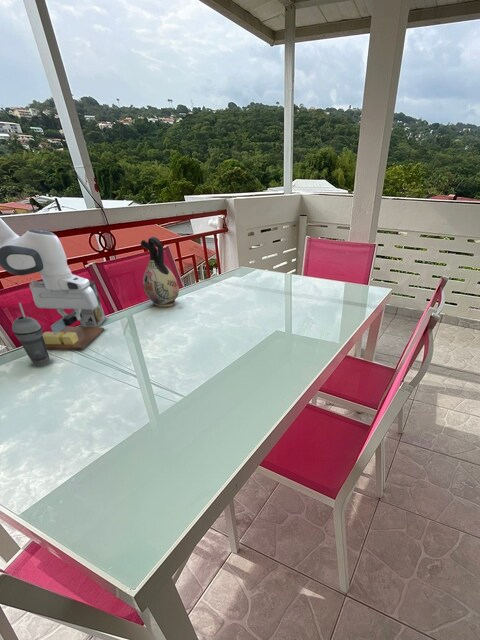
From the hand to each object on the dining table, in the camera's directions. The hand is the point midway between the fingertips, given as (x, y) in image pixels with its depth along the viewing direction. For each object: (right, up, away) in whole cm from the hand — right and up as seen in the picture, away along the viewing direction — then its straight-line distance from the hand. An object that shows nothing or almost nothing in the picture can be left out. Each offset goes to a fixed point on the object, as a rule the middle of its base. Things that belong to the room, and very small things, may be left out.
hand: (72, 319), depth 122 cm
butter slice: (+2, -9, -4) cm, 10 cm away
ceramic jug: (+20, +16, +36) cm, 44 cm away
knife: (0, -3, -3) cm, 4 cm away
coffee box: (-1, +2, +14) cm, 14 cm away
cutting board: (-1, -7, +1) cm, 7 cm away
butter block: (-3, -9, -4) cm, 11 cm away
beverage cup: (0, -18, -15) cm, 23 cm away
